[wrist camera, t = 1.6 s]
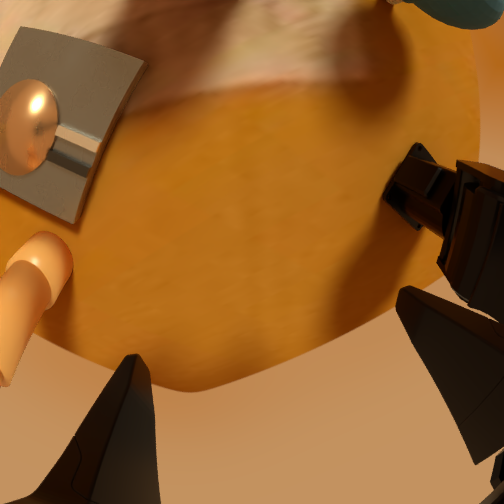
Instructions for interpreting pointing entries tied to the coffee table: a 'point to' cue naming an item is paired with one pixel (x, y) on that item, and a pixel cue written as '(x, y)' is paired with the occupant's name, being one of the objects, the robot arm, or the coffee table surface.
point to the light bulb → (461, 11)
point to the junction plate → (59, 116)
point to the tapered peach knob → (29, 294)
